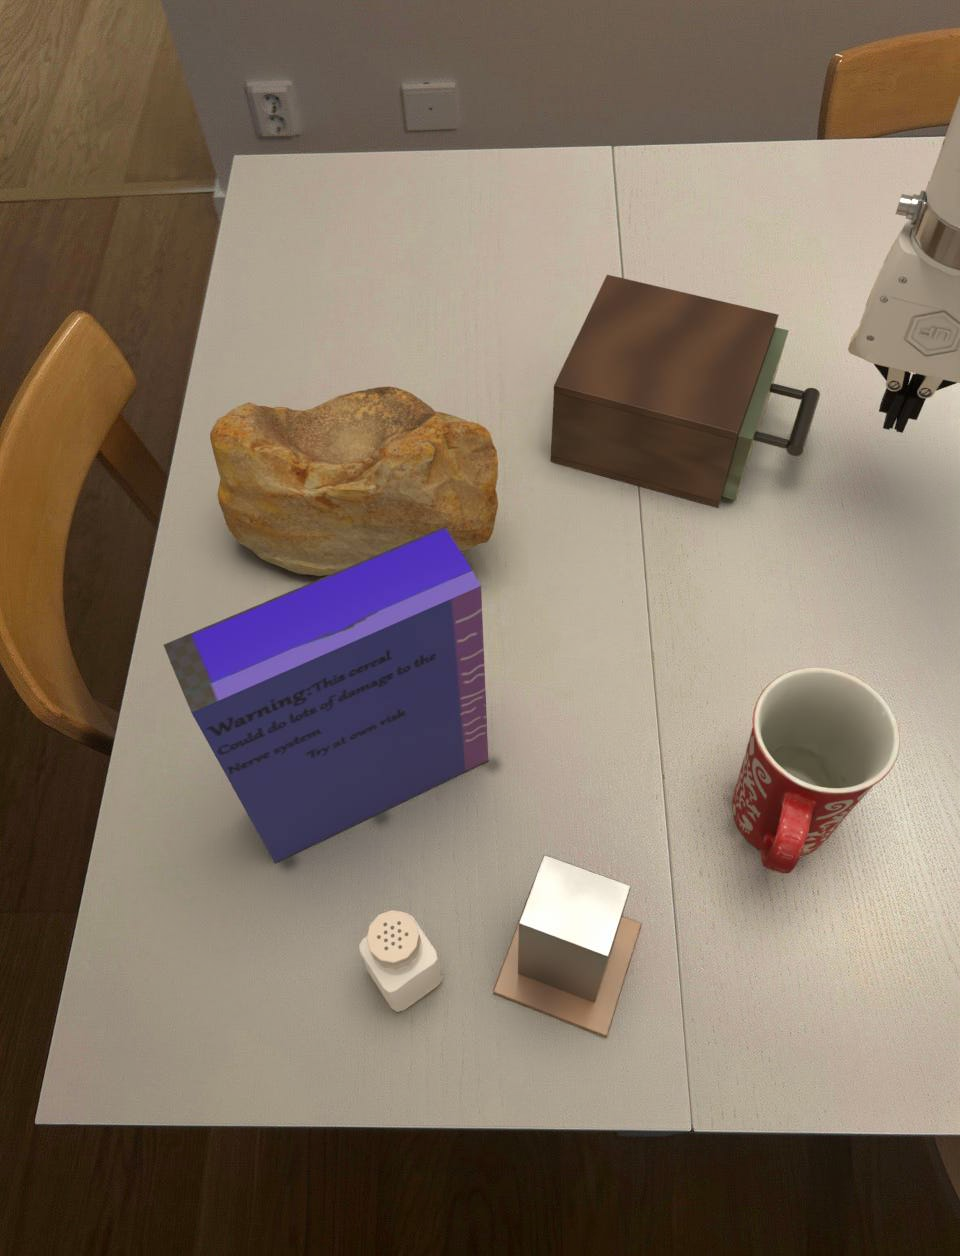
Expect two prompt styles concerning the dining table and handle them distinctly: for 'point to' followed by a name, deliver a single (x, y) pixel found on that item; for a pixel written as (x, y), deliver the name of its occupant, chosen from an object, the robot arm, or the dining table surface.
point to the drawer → (756, 412)
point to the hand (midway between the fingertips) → (895, 418)
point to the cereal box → (344, 692)
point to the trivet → (564, 1003)
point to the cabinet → (659, 388)
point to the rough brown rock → (352, 478)
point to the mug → (810, 761)
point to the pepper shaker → (400, 959)
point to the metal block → (570, 927)
